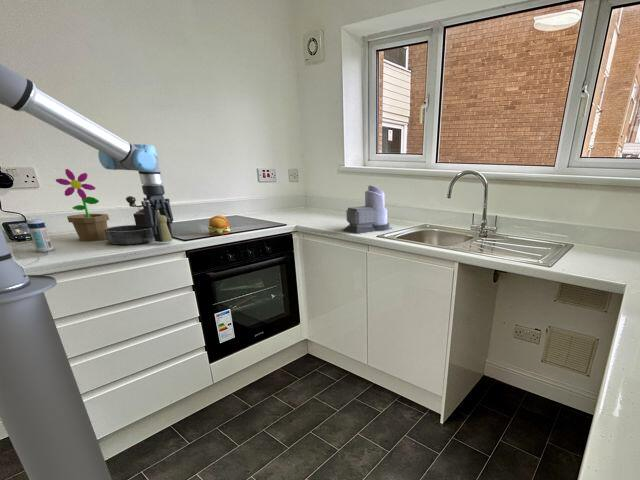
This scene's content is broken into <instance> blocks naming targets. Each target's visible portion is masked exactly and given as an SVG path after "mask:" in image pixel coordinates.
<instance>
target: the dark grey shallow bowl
mask: <svg viewBox="0 0 640 480" xmlns="http://www.w3.org/2000/svg"><path fill="white" fill-rule="evenodd" d="M104 231H105V235H106V238H107V239H106V241H107V244H111V245H125V246H127V245H137V244H138V245H139V244H144V243H149V242H152V241H155V238H154V234H153V232H152V227H151V226H148V225H136V224H126V225H117V226H111V227H107V228H106V229H105V230H104Z"/></svg>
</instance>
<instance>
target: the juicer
mask: <svg viewBox="0 0 640 480" xmlns="http://www.w3.org/2000/svg"><path fill="white" fill-rule="evenodd" d="M385 195H386V194H385V192H384V191H383V190H382V189H381V188H379V187H377V186H375V185H372V184H370V185H368V186H367V190H366V191H364V206H351V207H350V206H349V207H347V209H346V210H345V211H346V213H345V214H346V221H347V223H348V225H347V226H345V228H343V230H342V232H347V233H352V234H356V235H357V234H363V233H370V232H376V231H377V232H379V231H380V232H381V231H387V230H391V229H392V227H391V226H390V223H389V222H388V212H389V211H388V209H387V208H386V207H385V199H386V198H385Z"/></svg>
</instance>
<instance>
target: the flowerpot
mask: <svg viewBox="0 0 640 480" xmlns="http://www.w3.org/2000/svg"><path fill="white" fill-rule="evenodd" d="M64 171H65V173H64V174H65V176H66V177H67V179H66V178H56V179H55V182H56V183H58V184H60V185H63V186H69V187H67V188H66V189H65V190H64V194H63V195H64V196H65V197H68V196H72V195H73V194H74V192H75V190H76V193H77V194H78V196H79V197H80V199H81V201H82V204H78V205H74V206H73V207H72V206H71V208H72V210H77V211H83V210H84V211H85V213H81V214H80V213H79V214H71V215H67V217H66V218H67V221H68V223H71V224H72V225H73V228H74V230H75V232H76V234H77V236H78V238H79V240H80V241H81V242H95V241H102V240H107V238H106V235H105V231H104V230H105V229H106V228H108V222H107V221H110V217H109V215H108V213H89V210H88V206H87V204H89V205H96V204H98V203H99V202H100V200H99V199H97V198H96V197H94V196H93V197H92V196H87V194H86V192H85V190H86V191H87V190H88V191H94V190H96V186H94V185H92V184H89V183H83V182H85V181H86V180H87V179H88V173H87V172H83V173H80V174H79V175H78V176H77V179H76V176H75V174H74V173H73V172H72V171H71V170H70V169H69V168H65V169H64ZM68 179H69V180H68ZM83 189H84V190H83Z"/></svg>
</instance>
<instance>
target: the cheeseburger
mask: <svg viewBox="0 0 640 480" xmlns="http://www.w3.org/2000/svg"><path fill="white" fill-rule="evenodd" d="M208 222H209V224H208V226H207V229H208V232H209V234H210V235H213V236H215V235H217V236H219V235H221V236H222V235H228V234H229V233H230V232H231V228H230V226H231V225H230V222H229V220H227V218H226V217H225V216H223V215H218V214H217V215H214V216H211V217H210V219H209V221H208Z"/></svg>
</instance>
